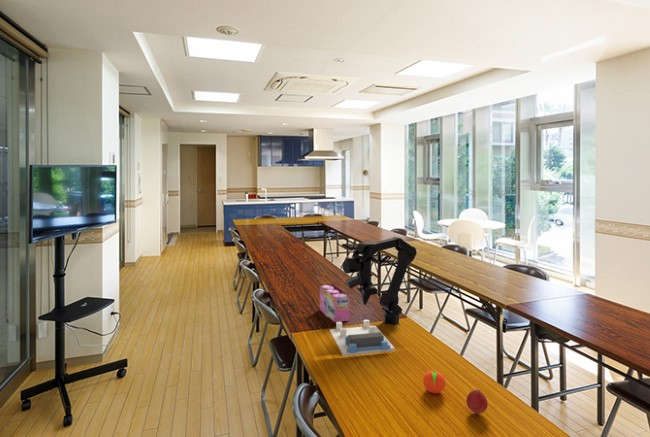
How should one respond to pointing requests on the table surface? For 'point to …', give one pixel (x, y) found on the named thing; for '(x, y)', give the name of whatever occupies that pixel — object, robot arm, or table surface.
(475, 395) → the onion
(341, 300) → the pink drink multipack
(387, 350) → the board
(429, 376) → the clementine
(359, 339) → the long grey block
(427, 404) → the table surface
